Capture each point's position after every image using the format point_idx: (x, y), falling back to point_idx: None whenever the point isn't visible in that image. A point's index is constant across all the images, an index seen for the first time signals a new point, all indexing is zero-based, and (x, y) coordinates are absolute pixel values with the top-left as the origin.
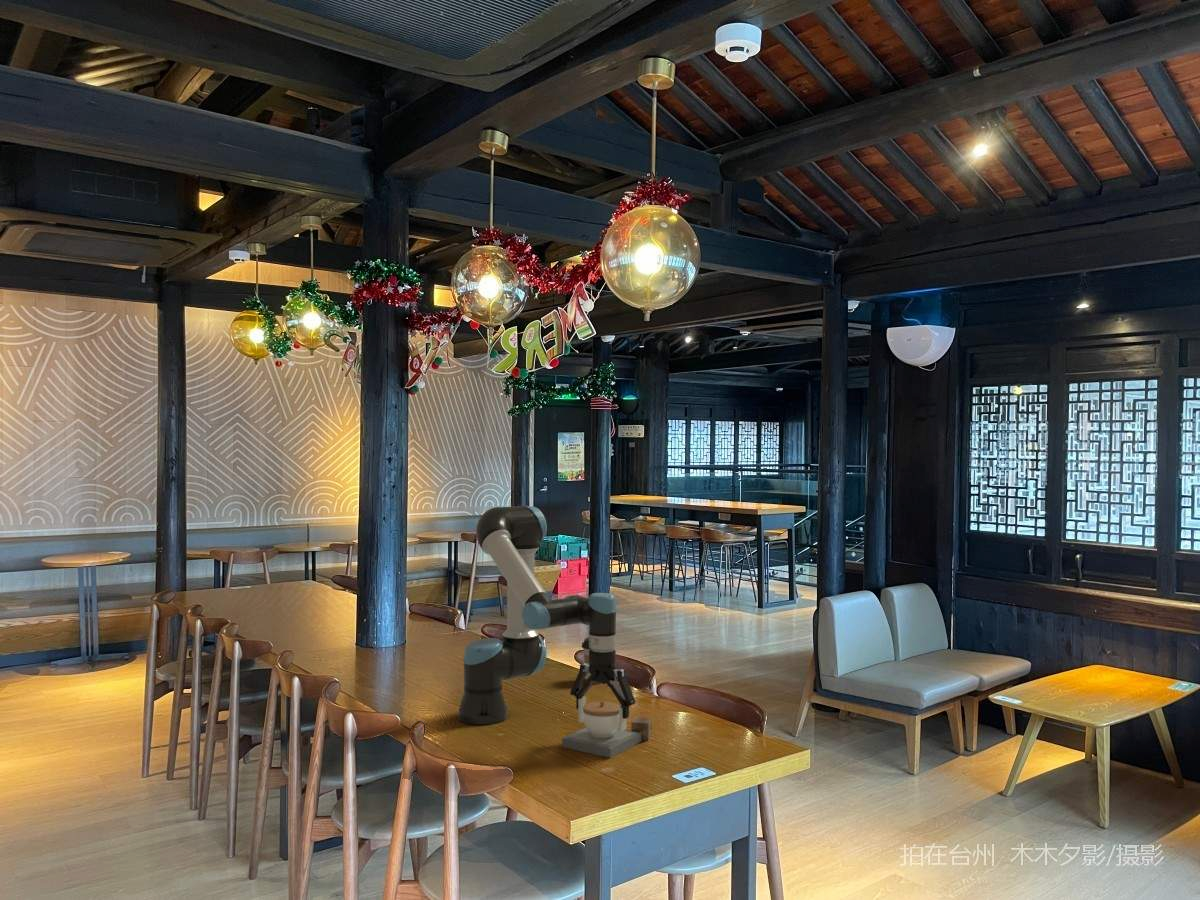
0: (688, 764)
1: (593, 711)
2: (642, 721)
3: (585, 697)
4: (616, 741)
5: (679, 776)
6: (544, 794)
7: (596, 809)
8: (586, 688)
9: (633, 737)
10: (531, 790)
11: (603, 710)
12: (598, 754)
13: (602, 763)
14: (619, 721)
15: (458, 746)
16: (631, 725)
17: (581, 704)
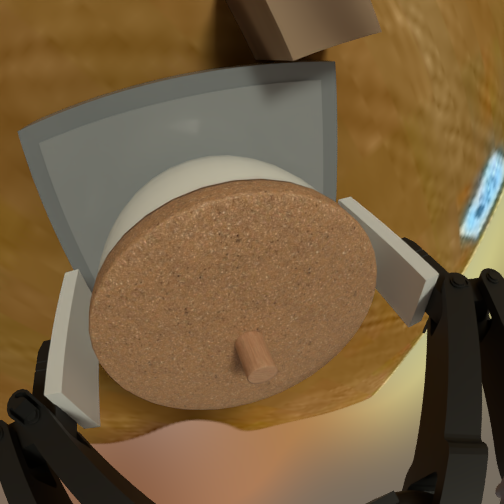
0: (476, 157)
1: (269, 396)
2: (340, 14)
3: (63, 395)
4: None
5: (469, 224)
6: (305, 412)
7: (385, 376)
8: (148, 499)
9: (335, 135)
10: (280, 420)
11: (310, 363)
12: None
13: None
14: None
15: None
16: (286, 60)
17: (94, 389)
